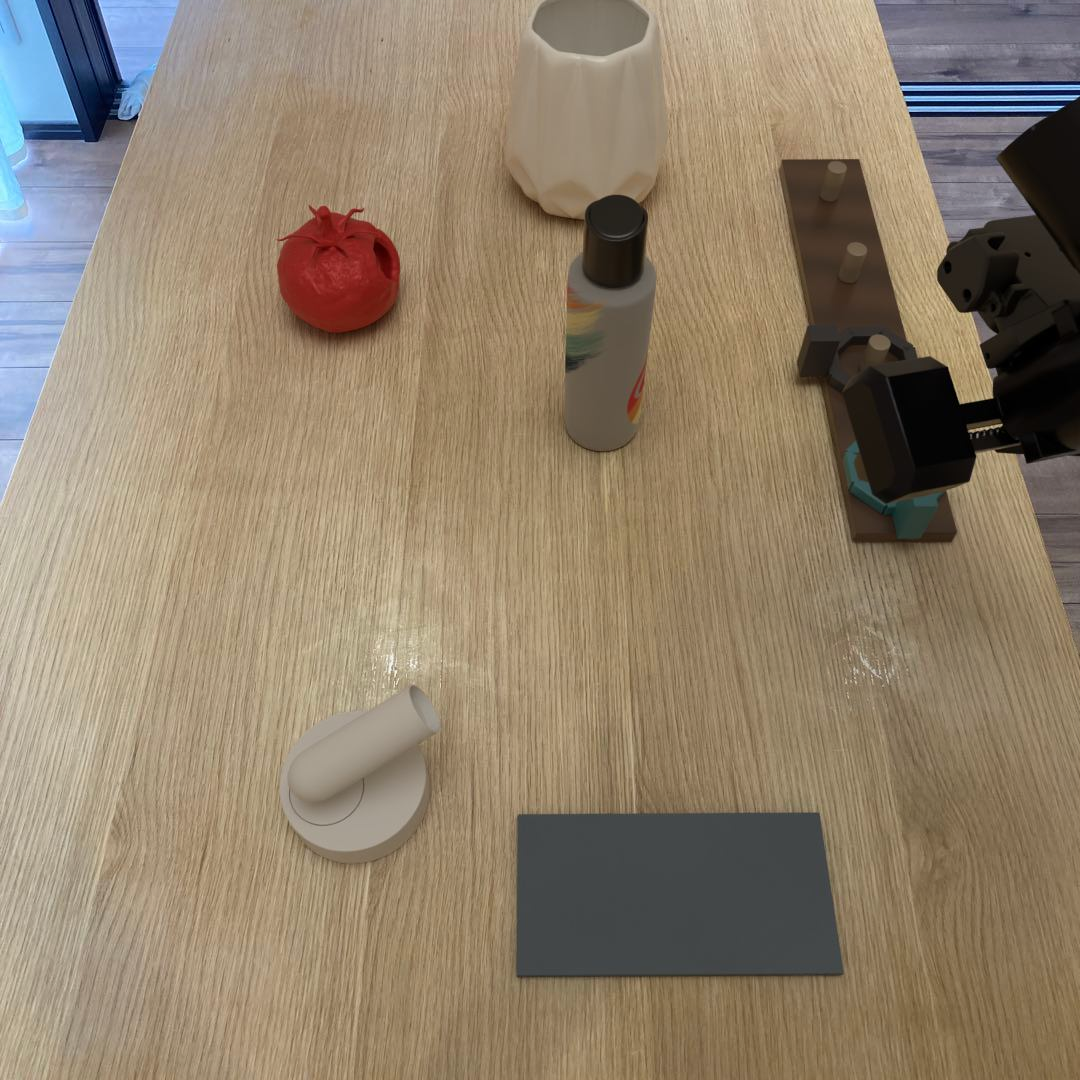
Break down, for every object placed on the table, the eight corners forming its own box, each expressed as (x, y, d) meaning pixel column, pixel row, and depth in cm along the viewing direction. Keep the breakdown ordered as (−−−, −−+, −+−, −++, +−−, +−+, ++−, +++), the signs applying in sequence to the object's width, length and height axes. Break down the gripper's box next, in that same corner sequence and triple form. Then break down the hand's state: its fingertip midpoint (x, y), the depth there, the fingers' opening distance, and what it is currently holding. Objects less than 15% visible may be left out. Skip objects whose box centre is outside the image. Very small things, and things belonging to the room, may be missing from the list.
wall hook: (461, 763, 54) (275, 839, 52) (472, 819, 62) (311, 887, 60) (406, 629, 58) (232, 694, 56) (423, 697, 66) (271, 757, 64)
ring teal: (837, 436, 76) (850, 400, 73) (932, 435, 76) (950, 400, 73) (857, 539, 71) (873, 506, 68) (959, 538, 71) (980, 506, 68)
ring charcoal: (906, 335, 81) (921, 297, 78) (924, 403, 78) (941, 367, 74) (791, 335, 81) (802, 298, 78) (804, 404, 78) (816, 368, 74)
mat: (817, 815, 62) (819, 812, 62) (841, 975, 57) (844, 973, 57) (518, 816, 62) (517, 813, 62) (516, 977, 57) (516, 975, 57)
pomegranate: (318, 367, 81) (294, 278, 73) (265, 290, 86) (237, 199, 78) (428, 317, 84) (416, 227, 76) (371, 246, 89) (354, 154, 81)
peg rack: (952, 541, 72) (973, 508, 69) (852, 542, 72) (868, 509, 69) (856, 169, 94) (868, 129, 90) (779, 170, 94) (788, 129, 90)
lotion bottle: (644, 401, 79) (672, 187, 62) (631, 459, 76) (656, 250, 59) (572, 388, 80) (580, 173, 63) (556, 445, 77) (559, 235, 60)
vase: (563, 257, 88) (566, 97, 75) (477, 167, 94) (466, 5, 81) (694, 196, 92) (718, 35, 79) (603, 114, 98) (611, -48, 85)
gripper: (1252, 157, 47) (1017, 304, 62) (910, 193, 42) (742, 344, 56) (1338, 386, 45) (1076, 481, 60) (993, 454, 40) (798, 540, 55)
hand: (927, 456), depth 58 cm, fingers open, 9 cm apart
